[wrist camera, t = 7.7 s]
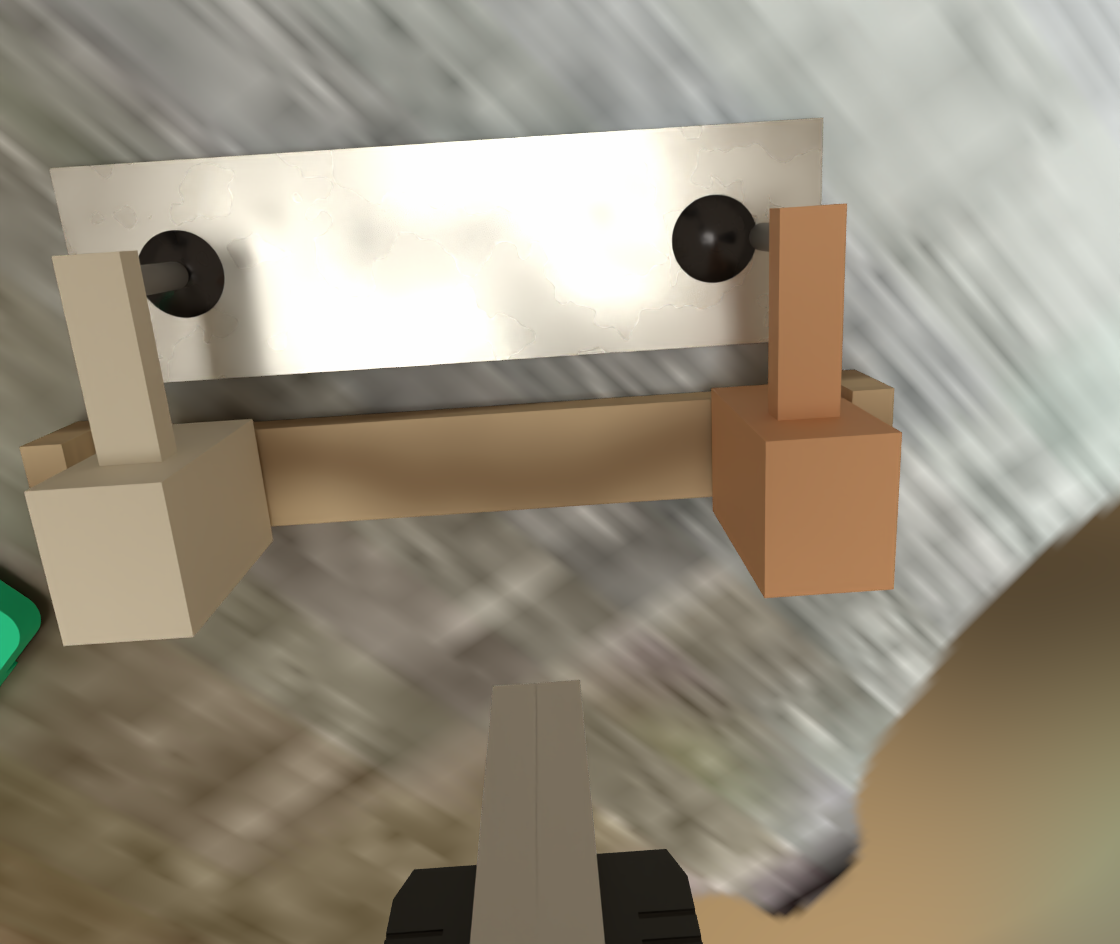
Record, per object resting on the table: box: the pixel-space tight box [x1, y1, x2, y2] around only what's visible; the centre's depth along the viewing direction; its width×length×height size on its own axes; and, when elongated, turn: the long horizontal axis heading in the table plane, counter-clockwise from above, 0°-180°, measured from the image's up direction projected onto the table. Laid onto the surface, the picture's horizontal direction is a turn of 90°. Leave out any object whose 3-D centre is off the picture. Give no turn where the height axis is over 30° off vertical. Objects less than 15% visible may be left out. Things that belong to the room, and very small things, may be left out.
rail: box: [19, 370, 894, 526], centre depth 33 cm, size 5×32×4 cm, turn 94°
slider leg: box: [711, 204, 902, 598], centre depth 29 cm, size 12×4×8 cm, turn 4°
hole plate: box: [49, 118, 823, 382], centre depth 32 cm, size 8×28×1 cm, turn 94°
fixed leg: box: [24, 250, 273, 646], centre depth 29 cm, size 12×4×8 cm, turn 4°
